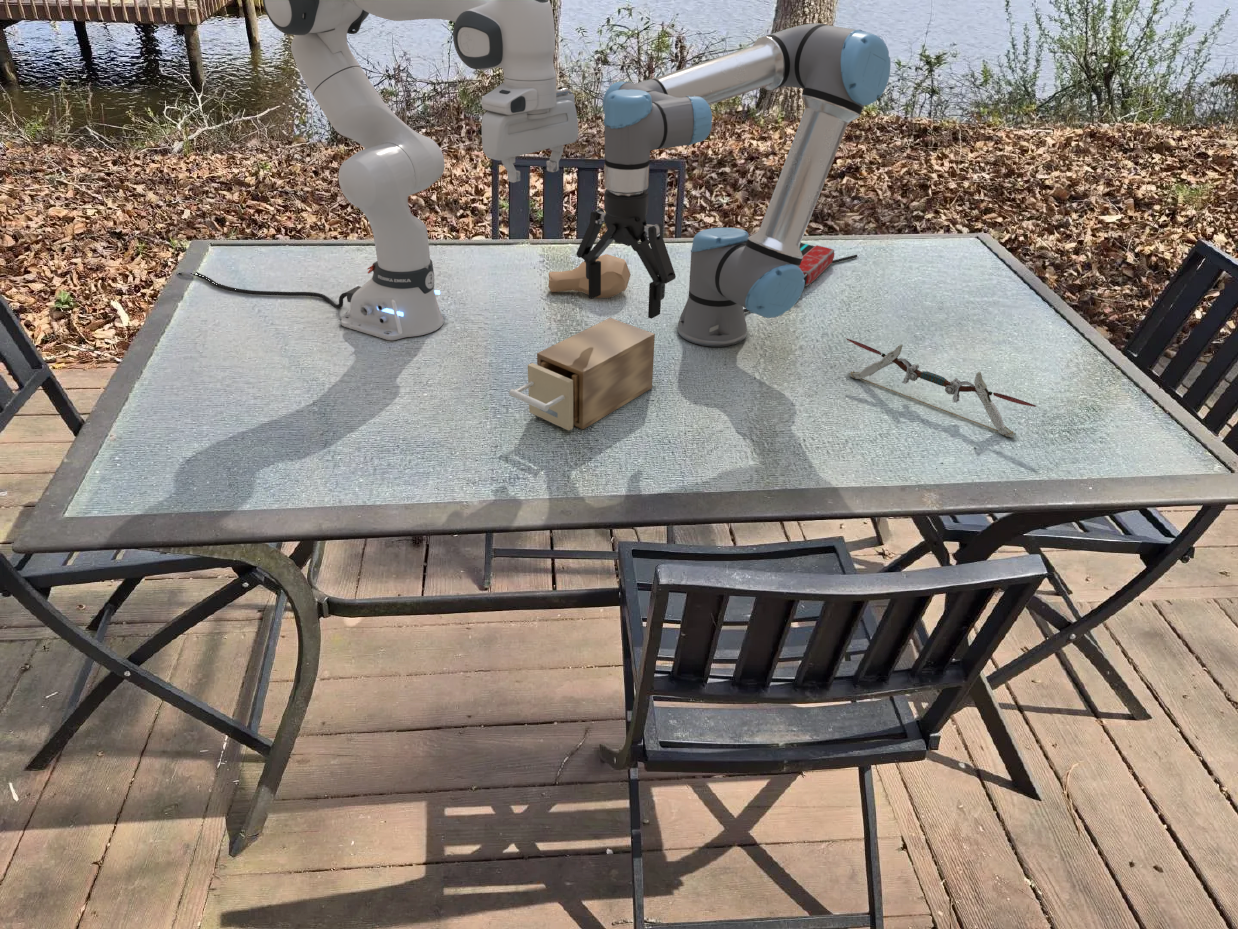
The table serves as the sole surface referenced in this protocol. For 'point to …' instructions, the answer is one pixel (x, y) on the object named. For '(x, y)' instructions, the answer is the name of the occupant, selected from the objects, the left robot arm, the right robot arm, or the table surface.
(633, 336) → the cabinet
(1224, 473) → the table surface
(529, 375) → the drawer
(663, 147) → the right robot arm
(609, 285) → the squash
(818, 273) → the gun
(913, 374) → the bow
